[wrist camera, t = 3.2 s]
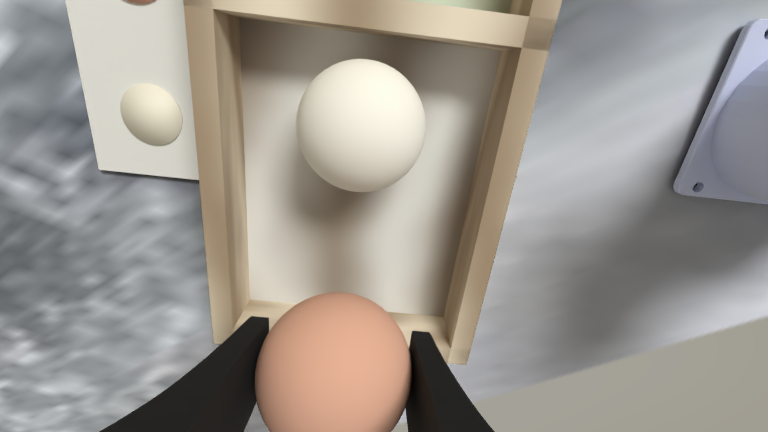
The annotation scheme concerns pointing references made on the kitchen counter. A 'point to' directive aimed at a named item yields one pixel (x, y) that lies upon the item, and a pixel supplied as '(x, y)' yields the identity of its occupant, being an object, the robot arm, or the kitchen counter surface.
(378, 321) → the terracotta ball
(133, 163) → the card
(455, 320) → the two-well rack
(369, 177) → the cream ball
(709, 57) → the kitchen counter surface
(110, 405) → the kitchen counter surface
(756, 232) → the kitchen counter surface
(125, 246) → the kitchen counter surface
